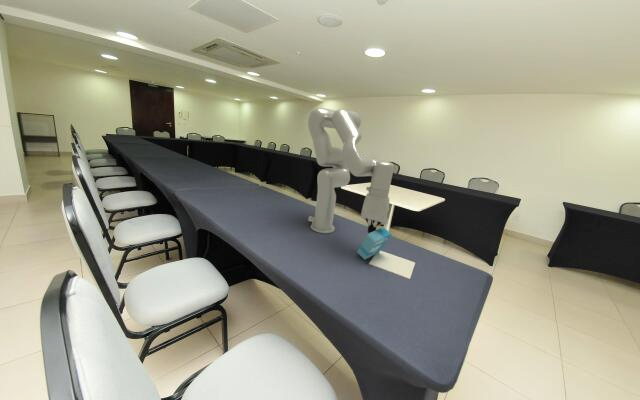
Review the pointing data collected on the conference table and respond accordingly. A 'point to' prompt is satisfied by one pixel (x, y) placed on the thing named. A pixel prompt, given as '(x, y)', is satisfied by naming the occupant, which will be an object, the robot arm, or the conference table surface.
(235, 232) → the conference table surface
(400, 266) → the beige mat
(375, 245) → the light blue flat box
